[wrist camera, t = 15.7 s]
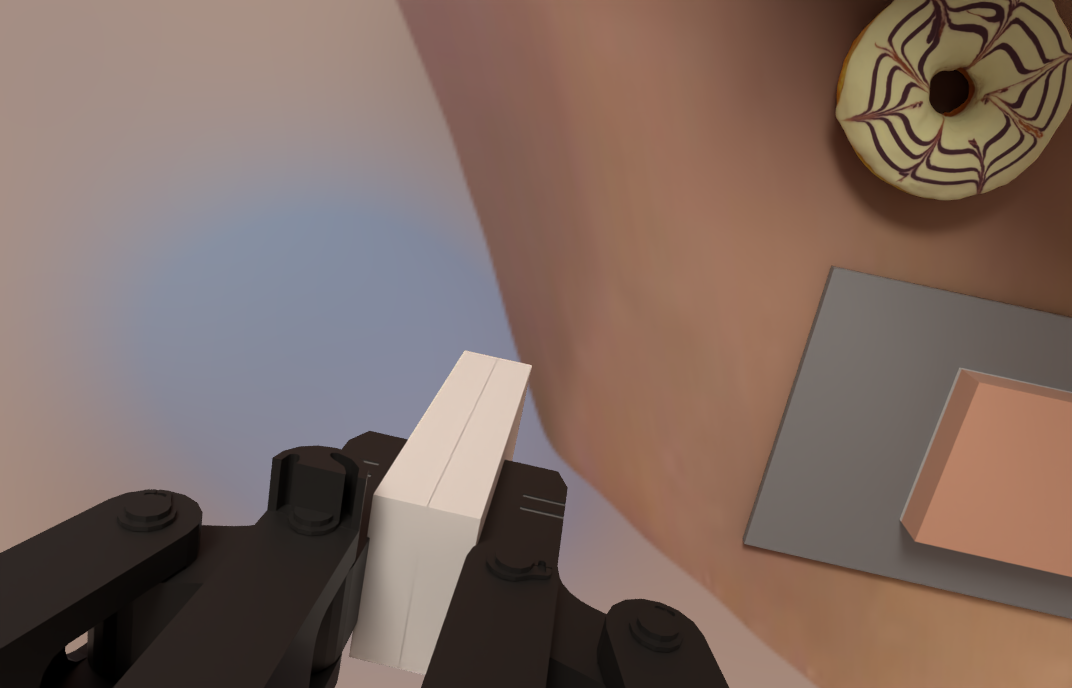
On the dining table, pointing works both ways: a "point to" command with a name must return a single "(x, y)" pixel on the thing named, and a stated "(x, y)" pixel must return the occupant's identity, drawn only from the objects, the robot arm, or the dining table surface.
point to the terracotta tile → (998, 474)
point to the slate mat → (896, 430)
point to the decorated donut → (981, 121)
